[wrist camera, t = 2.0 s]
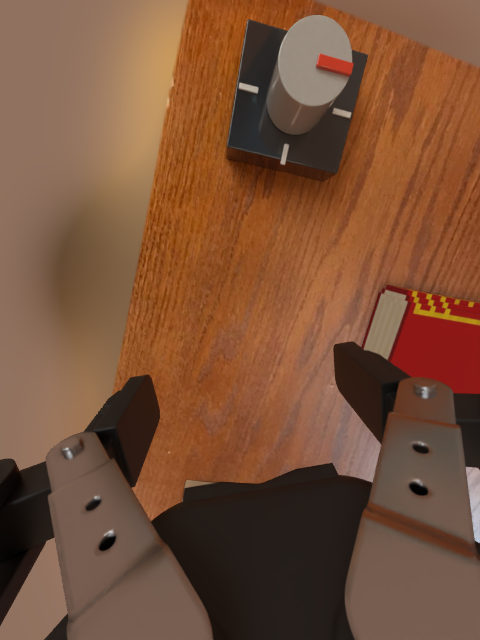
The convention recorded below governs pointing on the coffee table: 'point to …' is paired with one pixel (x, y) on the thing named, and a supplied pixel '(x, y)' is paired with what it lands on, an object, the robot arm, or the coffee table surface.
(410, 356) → the book
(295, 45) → the burner knob
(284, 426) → the coffee table surface
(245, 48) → the panel
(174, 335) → the coffee table surface
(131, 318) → the coffee table surface
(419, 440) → the robot arm
